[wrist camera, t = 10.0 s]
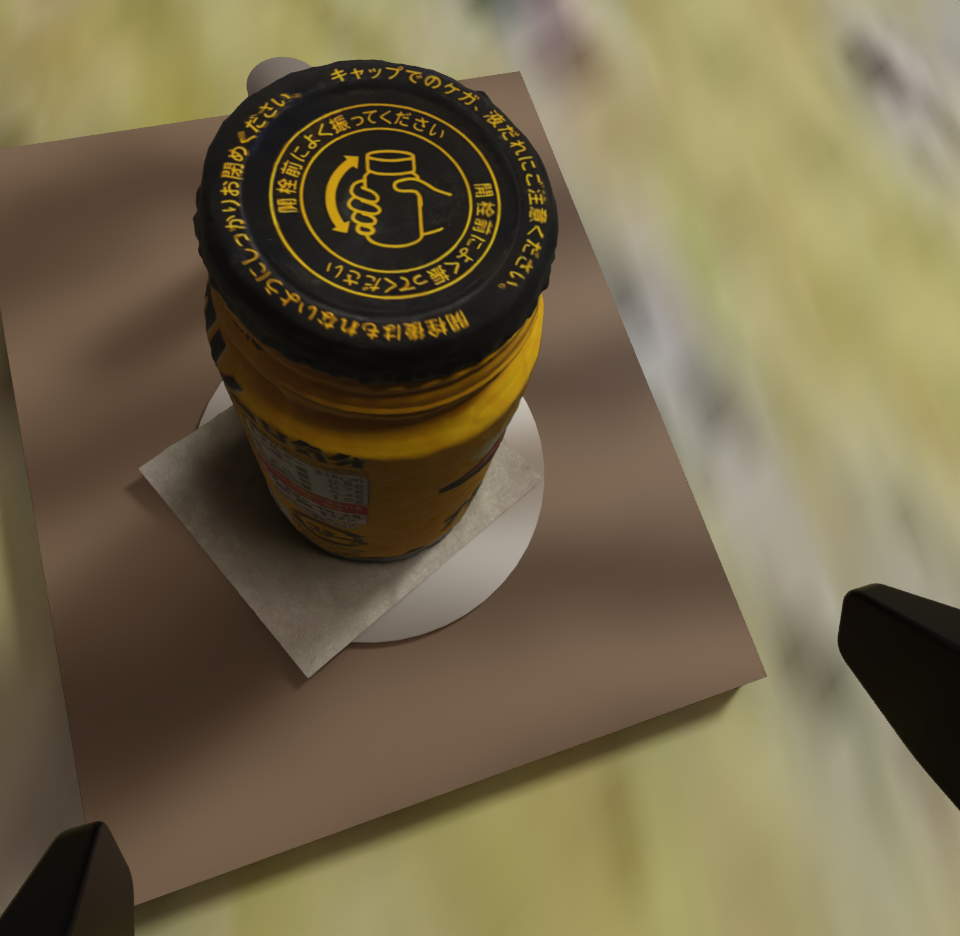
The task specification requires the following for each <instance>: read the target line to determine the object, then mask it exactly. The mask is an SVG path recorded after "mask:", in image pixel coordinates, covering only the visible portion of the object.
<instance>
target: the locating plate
mask: <svg viewBox="0 0 960 936" xmlns="http://www.w3.org/2000/svg"><path fill="white" fill-rule="evenodd" d="M308 68H311V66H310V65H308V64H307V63H305V62H303V61H301V60H298V59H294V58H289V57H276V58H271V59H268V60H265V61H263V62H261V63H260V64H258V65H257V66H256V67H255V68H254V69H253V70H252V71H251V72H250V74H249V76H248V79H247V91H248V97H249V96H250V95H252V94H253V93H256V92H258V91H259V90H261V89H262V88H264V87H266V86H268V85H270V84H271V83H273V82H274V81H276V80H277V79H280V78H282V77H284V76H286V75H287V74H289V73H291V72H297V71H301V70H305V69H308ZM458 82H459V83H461V84H462V85H464V86H465V87H467V88H469V89H472V90H474V91H484V92H485V93H486V94H487V96H488V97H489V98H490V100H491V101H492V103H493V104H494V105H495V106H497V107H498V108H499V109H500V110H501V111H502V112H503V113H504V114H505V115H506V116H507V117H508V118H509V119H510V120H511V121H512V123H513V124H514V125H515V126H516V127H517V128H518V129H519V130H520V131H521V132H522V133H523V134H524V135H525V136H526V137H527V138H528V140H529V141H530V143H531V144H532V146H533V147H534V148H535V150H536V151H537V153H538V154H539V156H540V158H541V160H542V162H543V164H544V166H545V168H546V171H547V174H548V177H549V180H550V183H551V186H552V191H553V194H554V197H555V200H556V205H557V213H558V228H559V232H558V238H557V247H556V249H555V259H554V261H553V263H552V264H551V274H550V278H549V286H548V288H547V289H546V290H544V291H543V292H542V296H543V303H544V313H543V323H542V339H541V346H540V352H539V356H538V359H537V361H536V365H535V367H534V369H533V371H532V374H531V378H530V381H529V383H528V387H527V391H526V393H525V394H524V396H523V397H522V398H521V401H520V404H519V407H518V409H517V411H516V413H515V414H514V416H513V418H512V420H511V422H510V423H509V425H508V427H507V429H506V432H505V435H504V438H505V439H506V440H507V441H508V443H509V444H510V445H511V446H512V447H513V448H514V449H515V450H516V451H517V452H518V453H519V454H520V455H521V456H522V457H523V459H524V460H525V461H526V462H527V463H528V464H529V465H530V466H531V467H532V469H533V470H534V471H535V472H536V473H537V474H538V475H539V476H540V477H541V478H542V480H541V481H540V482H538V483H537V484H536V485H535V486H534V487H533V488H532V489H531V490H529V491H528V492H527V493H526V494H525V495H524V496H522V497H521V498H520V499H519V500H518V501H517V502H515V503H514V504H513V505H512V506H511V507H509V508H508V509H507V510H506V511H505V512H504V513H502V514H501V515H500V516H499V517H498V518H497V519H495V520H494V521H493V522H492V523H491V524H490V525H488V526H487V527H486V528H485V529H484V530H482V531H481V532H480V533H479V534H478V535H477V536H475V537H474V538H473V539H472V540H471V541H469V542H468V543H467V544H466V545H465V546H464V547H462V548H461V549H460V550H459V551H458V552H457V553H455V554H454V555H453V556H452V557H451V558H450V559H448V560H447V561H446V562H445V563H444V564H442V565H441V566H440V567H439V568H438V569H437V570H435V571H434V572H433V573H432V574H431V575H429V576H428V577H427V578H426V579H425V580H423V581H422V582H421V583H420V584H419V585H417V586H416V587H415V588H414V589H413V590H412V591H410V592H409V593H408V594H407V595H406V596H404V597H403V598H402V599H401V600H400V601H398V602H397V603H396V604H395V605H394V606H393V607H391V608H390V609H389V610H388V611H387V612H385V613H384V614H383V615H382V616H380V617H379V618H378V619H377V620H376V621H375V622H374V623H372V624H371V625H370V626H369V627H368V628H367V629H365V630H364V631H363V632H362V633H361V634H360V635H359V636H357V637H356V638H355V639H354V640H353V641H352V642H350V643H349V644H348V645H347V646H346V647H344V648H343V649H342V650H341V651H340V652H338V653H337V654H336V655H335V656H334V657H333V658H331V659H330V660H329V661H328V662H327V663H326V664H324V665H323V666H322V667H321V668H320V669H319V670H317V671H316V672H315V673H314V674H313V675H312V676H310V677H309V678H307V676H306V675H305V674H304V673H303V671H302V670H301V669H300V668H299V667H298V665H297V664H296V663H295V662H294V660H293V659H292V658H291V657H290V655H289V654H288V653H287V652H286V651H285V649H284V648H283V647H282V646H281V644H280V643H279V641H278V640H277V639H276V638H275V637H274V636H273V634H272V633H271V632H270V631H269V629H268V628H267V627H266V626H265V625H264V623H263V622H262V621H261V620H260V618H259V617H258V616H257V615H256V613H255V612H254V610H253V609H252V608H251V607H250V606H249V605H248V603H247V602H246V601H245V600H244V598H243V597H242V596H241V595H240V594H239V592H238V591H237V590H236V588H235V587H234V586H233V585H232V584H231V582H230V581H229V580H228V579H227V578H226V576H225V575H224V574H223V573H222V571H221V570H220V569H219V568H218V566H217V565H216V564H215V563H214V561H213V560H212V559H211V558H210V556H209V555H208V554H207V553H206V551H205V550H204V549H203V548H202V547H201V545H200V544H199V543H198V542H197V541H196V539H195V538H194V537H193V535H192V534H191V533H190V532H189V530H188V529H187V528H186V527H185V526H184V524H183V523H182V522H181V521H180V519H179V518H178V517H177V516H176V515H175V513H174V512H173V511H172V510H171V508H170V507H169V506H168V505H167V503H166V502H165V501H164V500H163V498H162V497H161V496H160V495H159V493H158V492H157V491H156V490H155V489H154V488H153V486H152V485H151V484H150V483H149V481H148V480H147V479H146V478H145V476H144V475H143V474H142V473H141V471H140V470H139V469H138V468H140V467H141V466H143V465H144V464H146V463H147V462H149V461H150V460H152V459H153V458H154V457H156V456H157V455H159V454H160V453H161V452H163V451H164V450H165V449H167V448H168V447H169V446H171V445H173V444H175V443H176V442H178V441H180V440H181V439H183V438H184V437H186V436H188V435H190V434H191V433H193V432H194V431H196V430H197V429H198V428H200V427H201V426H203V425H204V424H206V423H208V422H209V421H210V420H212V419H213V418H214V417H215V416H217V415H218V414H220V413H221V412H223V411H225V410H226V409H228V408H229V407H230V406H232V405H233V403H232V401H231V399H230V396H229V394H228V392H227V390H226V388H225V385H224V382H223V380H222V377H221V375H220V373H219V370H218V368H217V367H216V365H215V362H214V360H213V359H212V356H211V348H210V345H209V342H208V338H207V333H206V320H205V314H204V305H205V301H204V297H205V292H206V283H207V279H208V271H207V268H206V267H205V265H204V264H203V260H202V258H201V257H200V255H199V252H198V248H199V241H198V239H197V238H196V236H195V231H194V223H193V217H194V215H195V213H196V212H197V208H196V192H197V190H198V187H199V186H200V185H201V180H202V174H203V166H204V161H205V158H206V154H207V151H208V147H209V146H210V144H211V143H212V141H213V139H214V137H215V135H216V133H217V132H218V130H219V128H220V126H221V124H222V122H223V121H224V120H225V119H227V118H228V117H229V116H230V115H225V116H218V117H212V118H205V119H198V120H192V121H185V122H178V123H172V124H165V125H158V126H152V127H145V128H138V129H132V130H125V131H118V132H112V133H105V134H98V135H92V136H85V137H79V138H72V139H65V140H59V141H52V142H45V143H39V144H32V145H25V146H19V147H12V148H5V149H0V310H1V316H2V322H3V328H4V334H5V340H6V346H7V352H8V359H9V365H10V371H11V377H12V383H13V389H14V395H15V401H16V407H17V413H18V419H19V425H20V431H21V437H22V443H23V449H24V455H25V461H26V467H27V473H28V479H29V485H30V491H31V498H32V504H33V510H34V516H35V522H36V528H37V534H38V540H39V546H40V552H41V558H42V564H43V570H44V576H45V582H46V588H47V594H48V600H49V606H50V612H51V618H52V624H53V630H54V636H55V643H56V649H57V655H58V661H59V667H60V673H61V679H62V685H63V691H64V697H65V703H66V709H67V715H68V721H69V727H70V733H71V739H72V745H73V751H74V757H75V763H76V769H77V775H78V782H79V788H80V794H81V800H82V806H83V812H84V818H85V824H88V823H91V822H95V821H102V822H104V823H105V824H106V825H107V826H108V827H109V829H110V831H111V833H112V835H113V837H114V839H115V841H116V843H117V845H118V847H119V849H120V851H121V853H122V855H123V857H124V858H125V860H126V862H127V864H128V866H129V869H130V872H131V875H132V880H133V887H134V906H135V905H138V904H141V903H144V902H146V901H149V900H152V899H155V898H157V897H160V896H163V895H166V894H168V893H171V892H174V891H177V890H179V889H182V888H185V887H188V886H190V885H193V884H196V883H199V882H202V881H204V880H207V879H210V878H213V877H215V876H218V875H221V874H224V873H226V872H229V871H232V870H235V869H237V868H240V867H243V866H246V865H248V864H251V863H254V862H257V861H259V860H262V859H265V858H268V857H270V856H273V855H276V854H279V853H282V852H284V851H287V850H290V849H293V848H295V847H298V846H301V845H304V844H306V843H309V842H312V841H315V840H317V839H320V838H323V837H326V836H328V835H331V834H334V833H337V832H339V831H342V830H345V829H348V828H350V827H353V826H356V825H359V824H362V823H364V822H367V821H370V820H373V819H375V818H378V817H381V816H384V815H386V814H389V813H392V812H395V811H397V810H400V809H403V808H406V807H408V806H411V805H414V804H417V803H419V802H422V801H425V800H428V799H430V798H433V797H436V796H439V795H442V794H444V793H447V792H450V791H453V790H455V789H458V788H461V787H464V786H466V785H469V784H472V783H475V782H477V781H480V780H483V779H486V778H488V777H491V776H494V775H497V774H499V773H502V772H505V771H508V770H510V769H513V768H516V767H519V766H522V765H524V764H527V763H530V762H533V761H535V760H538V759H541V758H544V757H546V756H549V755H552V754H555V753H557V752H560V751H563V750H566V749H568V748H571V747H574V746H577V745H579V744H582V743H585V742H588V741H590V740H593V739H596V738H599V737H602V736H604V735H607V734H610V733H613V732H615V731H618V730H621V729H624V728H626V727H629V726H632V725H635V724H637V723H640V722H643V721H646V720H648V719H651V718H654V717H657V716H659V715H662V714H665V713H668V712H670V711H673V710H676V709H679V708H682V707H684V706H687V705H690V704H693V703H695V702H698V701H701V700H704V699H706V698H709V697H712V696H715V695H717V694H720V693H723V692H726V691H728V690H731V689H734V688H737V687H739V686H742V685H745V684H748V683H750V682H753V681H756V680H759V679H762V678H764V677H767V675H766V672H765V670H764V667H763V665H762V662H761V660H760V657H759V655H758V653H757V650H756V648H755V645H754V643H753V640H752V638H751V635H750V633H749V631H748V628H747V626H746V623H745V621H744V618H743V616H742V613H741V611H740V609H739V606H738V604H737V601H736V599H735V596H734V594H733V591H732V589H731V587H730V584H729V582H728V579H727V577H726V574H725V572H724V569H723V567H722V565H721V562H720V560H719V557H718V555H717V552H716V550H715V547H714V545H713V543H712V540H711V538H710V535H709V533H708V530H707V528H706V525H705V523H704V521H703V518H702V516H701V513H700V511H699V508H698V506H697V503H696V501H695V499H694V496H693V494H692V491H691V489H690V486H689V484H688V481H687V479H686V477H685V474H684V472H683V469H682V467H681V464H680V462H679V459H678V457H677V455H676V452H675V450H674V447H673V445H672V442H671V440H670V437H669V435H668V433H667V430H666V428H665V425H664V423H663V420H662V418H661V415H660V413H659V411H658V408H657V406H656V403H655V401H654V398H653V396H652V393H651V391H650V389H649V386H648V384H647V381H646V379H645V376H644V374H643V371H642V369H641V366H640V364H639V362H638V359H637V357H636V354H635V352H634V349H633V347H632V344H631V342H630V340H629V337H628V335H627V332H626V330H625V327H624V325H623V322H622V320H621V318H620V315H619V313H618V310H617V308H616V305H615V303H614V300H613V298H612V296H611V293H610V291H609V288H608V286H607V283H606V281H605V278H604V276H603V274H602V271H601V269H600V266H599V264H598V261H597V259H596V256H595V254H594V252H593V249H592V247H591V244H590V242H589V239H588V237H587V234H586V232H585V230H584V227H583V225H582V222H581V220H580V217H579V215H578V212H577V210H576V208H575V205H574V203H573V200H572V198H571V195H570V193H569V190H568V188H567V186H566V183H565V181H564V178H563V176H562V173H561V171H560V168H559V166H558V164H557V161H556V159H555V156H554V154H553V151H552V149H551V146H550V144H549V142H548V139H547V137H546V134H545V132H544V129H543V127H542V124H541V122H540V120H539V117H538V115H537V112H536V110H535V107H534V105H533V102H532V100H531V98H530V95H529V93H528V90H527V88H526V85H525V83H524V80H523V78H522V76H521V73H520V71H518V72H512V73H505V74H498V75H492V76H485V77H478V78H472V79H465V80H458Z"/></svg>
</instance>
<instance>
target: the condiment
mask: <svg viewBox="0 0 960 936" xmlns="http://www.w3.org/2000/svg"><path fill="white" fill-rule="evenodd" d="M196 208H197V212H196V213H195V215H194V217H193V223H194V231H195V236H196V238H197V239H198V241H199V248H198V252H199V255H200V257H201V258H202V260H203V264H204V265H205V267H206V268H207V271H208V279H207V283H206V292H205V297H204V301H205V305H204V314H205V320H206V333H207V338H208V342H209V345H210V348H211V356H212V359H213V360H214V362H215V365H216V367H217V368H218V370H219V373H220V375H221V377H222V380H223V382H224V385H225V388H226V390H227V392H228V394H229V396H230V399H231V401H232V403H233V405H232V406H230V407H229V408H228V409H226V410H225V411H223V412H221V413H220V414H218V415H217V416H215V417H214V418H213V419H212V420H210V421H209V422H208V423H206V424H204V425H203V426H201V427H200V428H198V429H197V430H196V431H194V432H193V433H191V434H190V435H188V436H186V437H184V438H183V439H181V440H180V441H178V442H176V443H175V444H173V445H171V446H169V447H168V448H167V449H165V450H164V451H163V452H161V453H160V454H159V455H157V456H156V457H154V458H153V459H152V460H150V461H149V462H147V463H146V464H144V465H143V466H141V467H140V468H138V469H139V470H140V471H141V473H142V474H143V475H144V476H145V478H146V479H147V480H148V481H149V483H150V484H151V485H152V486H153V488H154V489H155V490H156V491H157V492H158V493H159V495H160V496H161V497H162V498H163V500H164V501H165V502H166V503H167V505H168V506H169V507H170V508H171V510H172V511H173V512H174V513H175V515H176V516H177V517H178V518H179V519H180V521H181V522H182V523H183V524H184V526H185V527H186V528H187V529H188V530H189V532H190V533H191V534H192V535H193V537H194V538H195V539H196V541H197V542H198V543H199V544H200V545H201V547H202V548H203V549H204V550H205V551H206V553H207V554H208V555H209V556H210V558H211V559H212V560H213V561H214V563H215V564H216V565H217V566H218V568H219V569H220V570H221V571H222V573H223V574H224V575H225V576H226V578H227V579H228V580H229V581H230V582H231V584H232V585H233V586H234V587H235V588H236V590H237V591H238V592H239V594H240V595H241V596H242V597H243V598H244V600H245V601H246V602H247V603H248V605H249V606H250V607H251V608H252V609H253V610H254V612H255V613H256V615H257V616H258V617H259V618H260V620H261V621H262V622H263V623H264V625H265V626H266V627H267V628H268V629H269V631H270V632H271V633H272V634H273V636H274V637H275V638H276V639H277V640H278V641H279V643H280V644H281V646H282V647H283V648H284V649H285V651H286V652H287V653H288V654H289V655H290V657H291V658H292V659H293V660H294V662H295V663H296V664H297V665H298V667H299V668H300V669H301V670H302V671H303V673H304V674H305V675H306V676H307V678H309V677H310V676H312V675H313V674H314V673H315V672H316V671H317V670H319V669H320V668H321V667H322V666H323V665H324V664H326V663H327V662H328V661H329V660H330V659H331V658H333V657H334V656H335V655H336V654H337V653H338V652H340V651H341V650H342V649H343V648H344V647H346V646H347V645H348V644H349V643H350V642H352V641H353V640H354V639H355V638H356V637H357V636H359V635H360V634H361V633H362V632H363V631H364V630H365V629H367V628H368V627H369V626H370V625H371V624H372V623H374V622H375V621H376V620H377V619H378V618H379V617H380V616H382V615H383V614H384V613H385V612H387V611H388V610H389V609H390V608H391V607H393V606H394V605H395V604H396V603H397V602H398V601H400V600H401V599H402V598H403V597H404V596H406V595H407V594H408V593H409V592H410V591H412V590H413V589H414V588H415V587H416V586H417V585H419V584H420V583H421V582H422V581H423V580H425V579H426V578H427V577H428V576H429V575H431V574H432V573H433V572H434V571H435V570H437V569H438V568H439V567H440V566H441V565H442V564H444V563H445V562H446V561H447V560H448V559H450V558H451V557H452V556H453V555H454V554H455V553H457V552H458V551H459V550H460V549H461V548H462V547H464V546H465V545H466V544H467V543H468V542H469V541H471V540H472V539H473V538H474V537H475V536H477V535H478V534H479V533H480V532H481V531H482V530H484V529H485V528H486V527H487V526H488V525H490V524H491V523H492V522H493V521H494V520H495V519H497V518H498V517H499V516H500V515H501V514H502V513H504V512H505V511H506V510H507V509H508V508H509V507H511V506H512V505H513V504H514V503H515V502H517V501H518V500H519V499H520V498H521V497H522V496H524V495H525V494H526V493H527V492H528V491H529V490H531V489H532V488H533V487H534V486H535V485H536V484H537V483H538V482H540V481H541V480H542V478H541V477H540V476H539V475H538V474H537V473H536V472H535V471H534V470H533V469H532V467H531V466H530V465H529V464H528V463H527V462H526V461H525V460H524V459H523V457H522V456H521V455H520V454H519V453H518V452H517V451H516V450H515V449H514V448H513V447H512V446H511V445H510V444H509V443H508V441H507V440H506V439H505V438H504V435H505V432H506V429H507V427H508V425H509V423H510V422H511V420H512V418H513V416H514V414H515V413H516V411H517V409H518V407H519V404H520V401H521V398H522V397H523V396H524V394H525V393H526V391H527V387H528V383H529V381H530V378H531V374H532V371H533V369H534V367H535V365H536V361H537V359H538V356H539V352H540V346H541V339H542V323H543V313H544V303H543V296H542V292H543V291H544V290H546V289H547V288H548V286H549V278H550V274H551V264H552V263H553V261H554V259H555V249H556V247H557V238H558V232H559V228H558V213H557V205H556V200H555V197H554V194H553V191H552V186H551V183H550V180H549V177H548V174H547V171H546V168H545V166H544V164H543V162H542V160H541V158H540V156H539V154H538V153H537V151H536V150H535V148H534V147H533V146H532V144H531V143H530V141H529V140H528V138H527V137H526V136H525V135H524V134H523V133H522V132H521V131H520V130H519V129H518V128H517V127H516V126H515V125H514V124H513V123H512V121H511V120H510V119H509V118H508V117H507V116H506V115H505V114H504V113H503V112H502V111H501V110H500V109H499V108H498V107H497V106H495V105H494V104H493V103H492V101H491V100H490V98H489V97H488V96H487V94H486V93H485V92H484V91H474V90H472V89H469V88H467V87H465V86H464V85H462V84H461V83H459V82H458V81H456V80H455V79H453V78H450V77H448V76H446V75H444V74H441V73H439V72H436V71H434V70H430V69H425V68H421V67H416V66H410V65H405V64H395V63H390V62H385V61H383V60H348V61H338V62H334V63H331V64H328V65H324V66H318V67H311V68H308V69H305V70H301V71H297V72H291V73H289V74H287V75H286V76H284V77H282V78H280V79H277V80H276V81H274V82H273V83H271V84H270V85H268V86H266V87H264V88H262V89H261V90H259V91H258V92H256V93H253V94H252V95H250V96H249V97H247V98H246V99H245V100H244V101H243V102H242V103H241V104H240V105H239V106H238V107H237V108H236V109H235V111H234V112H233V113H232V114H231V115H230V116H229V117H228V118H227V119H225V120H224V121H223V122H222V124H221V126H220V128H219V130H218V132H217V133H216V135H215V137H214V139H213V141H212V143H211V144H210V146H209V147H208V151H207V154H206V158H205V161H204V166H203V174H202V180H201V185H200V186H199V187H198V190H197V192H196Z"/></svg>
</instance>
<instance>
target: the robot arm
mask: <svg viewBox="0 0 960 936" xmlns="http://www.w3.org/2000/svg"><path fill="white" fill-rule="evenodd" d="M838 647H839V650H840V653H841V655H842V657H843V659H844V661H845V662H846V663H847V665H848V666H849V668H850V669H851V670H852V672H853V673H854V675H855V676H856V677H857V679H858V680H859V682H860V683H861V684H862V686H863V687H864V689H865V690H866V691H867V693H868V694H869V696H870V697H871V698H872V700H873V701H874V703H875V704H876V705H877V707H878V708H879V709H880V711H881V712H882V714H883V715H884V716H885V718H886V719H887V721H888V722H889V723H890V725H891V726H892V728H893V729H894V730H895V732H896V733H897V735H898V736H899V737H900V739H901V740H902V742H903V743H904V744H905V746H906V747H907V748H908V750H909V751H910V752H911V754H912V755H913V756H914V758H915V759H916V760H917V761H918V763H919V764H920V765H921V766H922V767H923V769H924V770H925V771H926V772H927V773H928V775H929V776H930V777H931V778H932V779H933V780H934V782H935V783H936V784H937V785H938V786H939V787H940V789H941V790H942V791H943V792H944V793H945V794H946V795H947V797H948V798H949V799H950V800H951V801H952V802H953V804H954V805H955V806H956V807H957V808H958V809H959V811H960V609H957V608H954V607H951V606H948V605H945V604H942V603H939V602H936V601H933V600H930V599H927V598H924V597H920V596H917V595H914V594H911V593H908V592H905V591H902V590H899V589H896V588H893V587H890V586H886V585H883V584H878V583H875V584H869V585H866V586H863V587H860V588H856V589H853V590H850V591H849V592H847V594H846V595H845V597H844V600H843V605H842V612H841V618H840V625H839V632H838ZM0 936H135V932H134V887H133V880H132V875H131V872H130V869H129V866H128V864H127V862H126V860H125V858H124V857H123V855H122V853H121V851H120V849H119V847H118V845H117V843H116V841H115V839H114V837H113V835H112V833H111V831H110V829H109V827H108V826H107V825H106V824H105V823H104V822H102V821H95V822H91V823H88V824H85V825H82V826H78V827H75V828H72V829H69V830H66V831H63V832H62V833H60V834H59V835H58V836H57V837H56V838H55V839H54V841H53V842H52V843H51V845H50V846H49V848H48V849H47V851H46V852H45V853H44V855H43V856H42V858H41V859H40V861H39V862H38V864H37V865H36V866H35V868H34V869H33V871H32V872H31V874H30V875H29V876H28V878H27V879H26V881H25V882H24V884H23V885H22V887H21V888H20V889H19V891H18V892H17V894H16V895H15V897H14V898H13V900H12V901H11V902H10V904H9V905H8V907H7V908H6V910H5V911H4V912H3V914H2V915H1V917H0Z"/></svg>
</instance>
